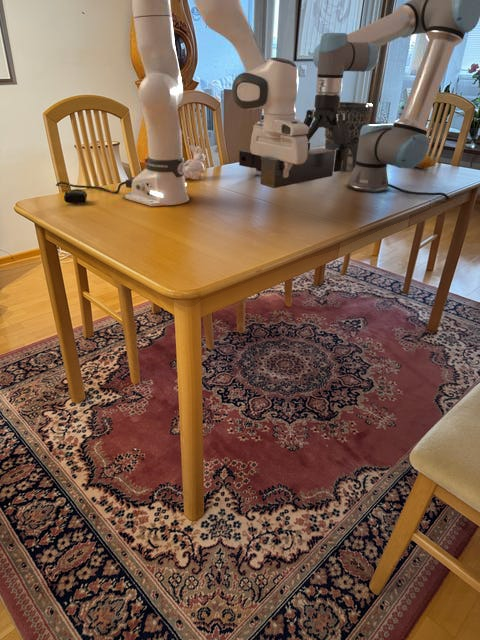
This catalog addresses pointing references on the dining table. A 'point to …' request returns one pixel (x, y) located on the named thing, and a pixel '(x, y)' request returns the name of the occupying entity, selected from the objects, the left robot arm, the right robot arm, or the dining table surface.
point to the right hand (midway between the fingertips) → (320, 167)
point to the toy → (426, 162)
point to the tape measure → (75, 196)
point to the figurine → (194, 164)
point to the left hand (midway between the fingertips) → (275, 174)
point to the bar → (298, 169)
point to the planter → (350, 128)
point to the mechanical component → (250, 160)
